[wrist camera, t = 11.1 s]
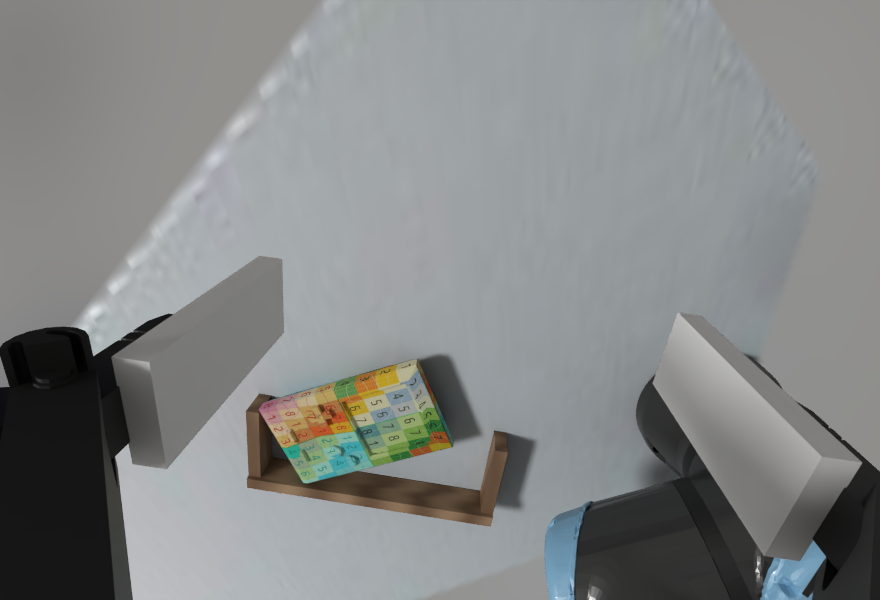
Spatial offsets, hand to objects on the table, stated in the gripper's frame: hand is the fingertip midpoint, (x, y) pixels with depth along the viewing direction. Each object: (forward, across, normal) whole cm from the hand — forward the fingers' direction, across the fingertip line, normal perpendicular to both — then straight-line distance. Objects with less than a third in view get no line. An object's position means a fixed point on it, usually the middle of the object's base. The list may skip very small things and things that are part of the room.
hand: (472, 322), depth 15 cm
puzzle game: (+32, +10, +29) cm, 44 cm away
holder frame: (+32, +7, +35) cm, 48 cm away
